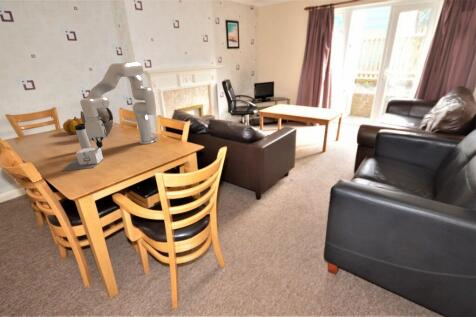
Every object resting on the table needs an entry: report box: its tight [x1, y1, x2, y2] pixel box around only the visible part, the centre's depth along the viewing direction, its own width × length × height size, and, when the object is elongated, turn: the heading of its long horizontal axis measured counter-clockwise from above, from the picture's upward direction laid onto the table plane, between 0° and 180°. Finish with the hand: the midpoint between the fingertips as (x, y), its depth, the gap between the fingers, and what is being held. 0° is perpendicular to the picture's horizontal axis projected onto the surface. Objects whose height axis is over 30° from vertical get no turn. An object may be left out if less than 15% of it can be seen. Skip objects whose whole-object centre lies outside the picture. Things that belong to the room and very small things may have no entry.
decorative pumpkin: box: [62, 116, 83, 135], centre depth 226 cm, size 20×22×15 cm
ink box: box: [75, 147, 104, 165], centre depth 156 cm, size 8×8×12 cm
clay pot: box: [80, 106, 114, 136], centre depth 211 cm, size 24×24×25 cm
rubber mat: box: [61, 158, 98, 172], centre depth 156 cm, size 18×18×1 cm
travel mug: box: [75, 124, 92, 150], centre depth 176 cm, size 6×7×20 cm
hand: (100, 147), depth 154 cm, fingers closed
